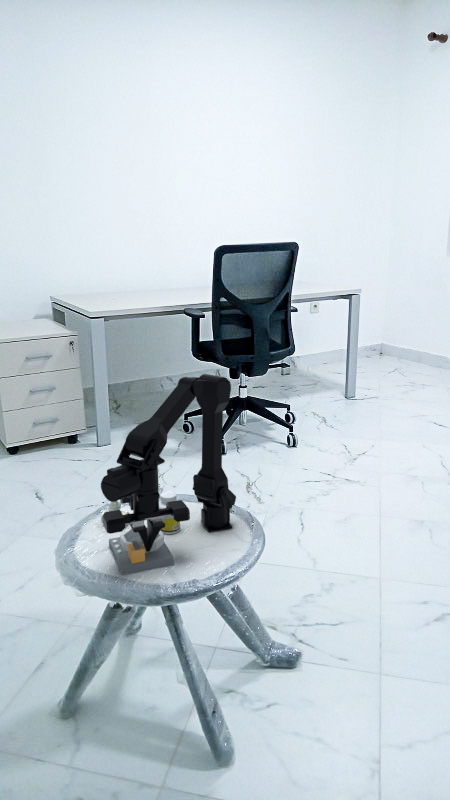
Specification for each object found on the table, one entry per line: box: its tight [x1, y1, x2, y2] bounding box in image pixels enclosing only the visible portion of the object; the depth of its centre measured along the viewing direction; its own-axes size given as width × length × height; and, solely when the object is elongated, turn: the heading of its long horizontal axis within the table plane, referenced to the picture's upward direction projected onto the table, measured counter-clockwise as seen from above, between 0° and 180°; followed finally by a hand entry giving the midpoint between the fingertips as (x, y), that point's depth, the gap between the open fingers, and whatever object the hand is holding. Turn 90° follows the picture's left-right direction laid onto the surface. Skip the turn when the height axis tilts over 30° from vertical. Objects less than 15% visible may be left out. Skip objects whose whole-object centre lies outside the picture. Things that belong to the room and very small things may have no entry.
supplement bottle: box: [159, 491, 181, 535], centre depth 159 cm, size 5×5×10 cm
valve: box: [100, 480, 131, 526], centre depth 161 cm, size 7×7×12 cm
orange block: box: [128, 541, 145, 564], centre depth 141 cm, size 3×4×4 cm
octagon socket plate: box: [108, 525, 175, 576], centre depth 147 cm, size 12×14×4 cm
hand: (147, 550), depth 142 cm, fingers closed
